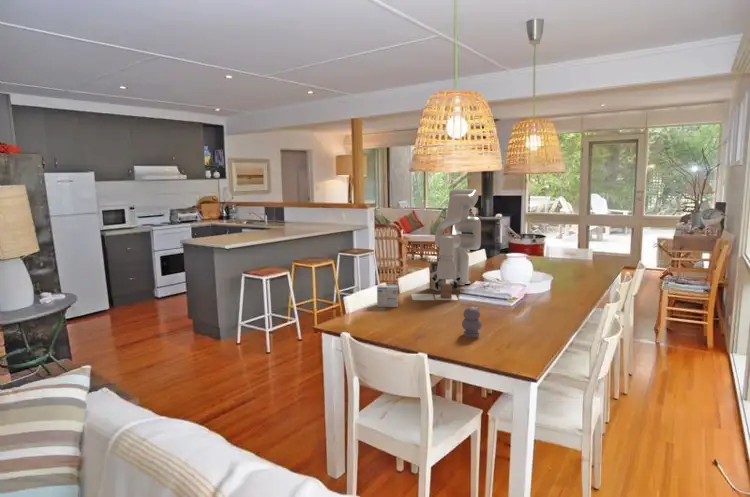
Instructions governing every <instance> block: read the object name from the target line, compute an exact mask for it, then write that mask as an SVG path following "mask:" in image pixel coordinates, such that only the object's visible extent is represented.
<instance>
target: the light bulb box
mask: <svg viewBox="0 0 750 497" xmlns="http://www.w3.org/2000/svg"><path fill="white" fill-rule="evenodd" d="M376 301H377V302H376V303H377V304H376V307H378V308H398V307H399V306H398V305H399V284H379V283H378V285H377V287H376Z"/></svg>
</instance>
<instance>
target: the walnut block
mask: <svg viewBox="0 0 750 497" xmlns="http://www.w3.org/2000/svg"><path fill="white" fill-rule="evenodd" d="M452 290H453V286H452V284H451V283H446V284H441V291H440V295H441V298H452V295H453V293H452V292H453V291H452Z"/></svg>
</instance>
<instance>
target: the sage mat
mask: <svg viewBox="0 0 750 497" xmlns="http://www.w3.org/2000/svg"><path fill="white" fill-rule="evenodd" d="M410 294H411V301H435V296H434V294H433V293H410Z"/></svg>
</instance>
